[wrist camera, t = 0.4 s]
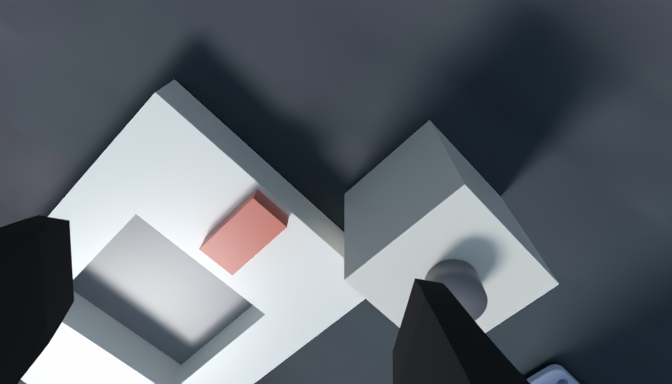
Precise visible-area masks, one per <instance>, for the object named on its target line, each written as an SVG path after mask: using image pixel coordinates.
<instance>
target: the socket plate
mask: <svg viewBox="0 0 672 384" xmlns="http://www.w3.org/2000/svg"><path fill="white" fill-rule="evenodd" d="M48 217H52V218H58V219H64V220H69V221H70V238H71V256H72V273H73V290H74V302H73V304H72V306H71V307H70V309H69V311H68V313H67V314H66V316H65V318H64V320H63V321H62V323H61V325H60V326H59V328H58V330H57V331H56V333H55V334H54V336H53V338H52V339H51V341H50V342H49V344H48V345H47V346H46V348H45V349H44V350H43V352H42V353H41V354H40V356H39V357H38V358H37V359H36V361H35V362H34V363H33V364H32V366H31V367H30V368H29V369H28V371H27V372H26V373H25V374H24V376H23V377H22V378H21V380H22V381H24V382H26V383H27V384H254V383H255V382H257V381H258V380H259V379H261V378H262V377H263V376H265V375H266V374H267V373H269V372H270V371H271V370H272V369H274V368H275V367H276V366H278V365H279V364H280V363H282V362H283V361H284V360H286V359H287V358H288V357H289V356H291V355H292V354H293V353H295V352H296V351H297V350H299V349H300V348H301V347H303V346H304V345H305V344H307V343H308V342H309V341H310V340H312V339H313V338H314V337H316V336H317V335H318V334H320V333H321V332H322V331H324V330H325V329H326V328H327V327H329V326H330V325H331V324H333V323H334V322H335V321H337V320H338V319H339V318H341V317H342V316H343V315H344V314H346V313H347V312H348V311H350V310H351V309H352V308H354V307H355V306H356V305H358V304H359V303H360V302H362V301H363V300H364V299H365V298H364V297H363V296H362V295H361V294H360V293H359V292H357V291H356V290H355V289H354V288H353V287H352V286H350V285H349V284H348V283H347V282H346V281H345V280H344V232H343V231H342V230H341V229H340V228H339V227H338V226H337V225H335V224H334V223H333V222H332V221H331V220H330V219H329V218H328V217H327V216H325V215H324V214H323V213H322V212H321V211H320V210H319V209H318V208H317V207H315V206H314V205H313V204H312V203H311V202H310V201H309V200H308V199H307V198H305V197H304V196H303V195H302V194H301V193H300V192H299V191H298V190H297V189H296V188H294V187H293V186H292V185H291V184H290V183H289V182H288V181H287V180H286V179H284V178H283V177H282V176H281V175H280V174H279V173H278V172H277V171H276V170H274V169H273V168H272V167H271V166H270V165H269V164H268V163H267V162H266V161H264V160H263V159H262V158H261V157H260V156H259V155H258V154H257V153H256V152H255V151H253V150H252V149H251V148H250V147H249V146H248V145H247V144H246V143H245V142H243V141H242V140H241V139H240V138H239V137H238V136H237V135H236V134H235V133H233V132H232V131H231V130H230V129H229V128H228V127H227V126H226V125H225V124H223V123H222V122H221V121H220V120H219V119H218V118H217V117H216V116H215V115H214V114H212V113H211V112H210V111H209V110H208V109H207V108H206V107H205V106H204V105H202V104H201V103H200V102H199V101H198V100H197V99H196V98H195V97H194V96H192V95H191V94H190V93H189V92H188V91H187V90H186V89H185V88H184V87H182V86H181V85H180V84H179V83H178V82H177V81H176V80H175V79H174V80H173V81H171V82H170V83H168V84H167V85H165V86H164V87H162V88H161V89H159V90H158V91H156V92H155V93H154V94H153V95H152V96H151V98H150V99H149V100H148V101H147V102H146V103H145V105H144V106H143V107H142V108H141V109H140V110H139V112H138V113H137V114H136V115H135V116H134V117H133V118H132V120H131V121H130V122H129V123H128V124H127V125H126V127H125V128H124V129H123V130H122V131H121V132H120V134H119V135H118V136H117V137H116V138H115V139H114V140H113V142H112V143H111V144H110V145H109V146H108V147H107V149H106V150H105V151H104V152H103V153H102V154H101V155H100V157H99V158H98V159H97V160H96V161H95V162H94V164H93V165H92V166H91V167H90V168H89V169H88V171H87V172H86V173H85V174H84V175H83V176H82V177H81V179H80V180H79V181H78V182H77V183H76V184H75V186H74V187H73V188H72V189H71V190H70V191H69V193H68V194H67V195H66V196H65V197H64V198H63V199H62V201H61V202H60V203H59V204H58V205H57V206H56V208H55V209H54V210H53V211H52V212H51V213H50V215H49V216H48Z"/></svg>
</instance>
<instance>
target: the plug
mask: <svg viewBox="0 0 672 384" xmlns="http://www.w3.org/2000/svg"><path fill="white" fill-rule="evenodd" d="M415 278H416V279H422V280H428V281H434V282H440V283H444V285H445V286H446V287H447V288H448V289H449V290H450V291H451V293H452V294H453V295H454V296H455V297H456V299H457V300H458V301H459V302H460V303H461V305H462V306H463V307H464V308H465V310H466V311H467V312H468V313H469V314H470V316H471V317H472V318H473V319H474V321H475V322H476V323H477V324H478V325H479V327H480V328H481V329H482V330H483V331H484V333H486V332H488V331H489V330H491V329H492V328H494V327H495V326H497V325H498V324H500V323H501V322H503V321H504V320H506V319H507V318H509V317H510V316H512V315H513V314H515V313H516V312H518V311H519V310H521V309H522V308H524V307H525V306H527V305H528V304H530V303H531V302H533V301H534V300H536V299H537V298H539V297H540V296H542V295H543V294H545V293H547V292H548V291H550V290H551V289H553V288H554V287H556V286H557V285H559V283H558V282H557V280H556V279H555V277H554V276H553V274H552V273H551V271H550V270H549V268H548V267H547V265H546V264H545V262H544V261H543V259H542V258H541V256H540V255H539V253H538V252H537V250H536V249H535V247H534V246H533V244H532V243H531V241H530V240H529V238H528V237H527V235H526V234H525V232H524V231H523V229H522V228H521V226H520V225H519V223H518V222H517V220H516V219H515V218H514V216H513V215H512V213H511V212H510V210H509V209H508V207H507V206H506V204H505V203H504V201H503V200H502V198H501V197H500V196H499V194H498V193H497V192H496V191H495V190H494V189H493V188H492V187H491V186H490V185H489V184H488V183H487V181H486V180H485V179H484V178H483V177H482V176H481V175H480V174H479V173H478V172H477V171H476V170H475V168H474V167H473V166H472V165H471V164H470V163H469V162H468V161H467V160H466V159H465V158H464V157H463V156H462V154H461V153H460V152H459V151H458V150H457V149H456V148H455V147H454V146H453V145H452V144H451V143H450V141H449V140H448V139H447V138H446V137H445V136H444V135H443V134H442V133H441V132H440V131H439V130H438V128H437V127H436V126H435V125H434V124H433V123H432V122H431V121H430V120H429V121H428V122H427V123H425V124H424V125H423V126H422V127H421V128H420V129H418V130H417V131H416V132H415V133H414V134H413V135H412V136H410V137H409V138H408V139H407V140H406V141H405V142H404V143H402V144H401V145H400V146H399V147H398V148H397V149H396V150H394V151H393V152H392V153H391V154H390V155H389V156H387V157H386V158H385V159H384V160H383V161H382V162H381V163H379V164H378V165H377V166H376V167H375V168H374V169H373V170H371V171H370V172H369V173H368V174H367V175H366V176H364V177H363V178H362V179H361V180H360V181H359V182H358V183H356V184H355V185H354V186H353V187H352V188H351V189H350V190H348V191H347V192H346V193H345V194H344V280H345V281H346V282H347V283H348V284H349V285H350V286H352V287H353V288H354V289H355V290H356V291H357V292H359V293H360V294H361V295H362V296H363V297H364V298H366V299H367V300H368V301H369V302H370V303H371V304H373V305H374V306H375V307H376V308H377V309H378V310H380V311H381V312H382V313H383V314H384V315H385V316H386V317H388V318H389V319H390V320H391V321H392V322H393V323H395V324H396V325H397V326H398V327H399V328H400V326H401V323H402V319H403V316H404V313H405V310H406V306H407V303H408V300H409V296H410V293H411V290H412V287H413V283H414V280H415Z"/></svg>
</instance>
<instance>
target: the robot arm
mask: <svg viewBox="0 0 672 384" xmlns="http://www.w3.org/2000/svg"><path fill="white" fill-rule="evenodd" d="M73 302H74V290H73V273H72V256H71V238H70V221H69V220H64V219H58V218H52V217H46V216H40V215H39V216H35V217H31V218H28V219H24V220H21V221H18V222H15V223H12V224H9V225H6V226H3V227H1V228H0V384H17V383H18V382H19V381H20V380H21V378H22V377H23V376H24V374H25V373H26V372H27V371H28V369H29V368H30V367H31V366H32V364H33V363H34V362H35V361H36V359H37V358H38V357H39V356H40V354H41V353H42V352H43V350H44V349H45V348H46V346H47V345H48V344H49V342H50V341H51V339H52V338H53V336H54V334H55V333H56V331H57V330H58V328H59V326H60V325H61V323H62V321H63V320H64V318H65V316H66V314H67V313H68V311H69V309H70V307H71V306H72V304H73ZM561 379H562V380H561ZM559 380H560V381H559ZM393 384H580V383H579V382H578V381H577V380H576V379H575V378H573V377H572V376H571V375H570V374H569V373H568V372H567V371H566V370H565V369H564V368H563V367H562V366H560V365H557V364H553V365H549V366H547V367H546V368H544V369H542V370H541V371H539V372H537V373H536V374H534V375H532V376H531V377H529V378H527V379H526V378H525V377H524V376H523V375H522V374H521V373H520V372H519V371H518V370H517V369H516V368H515V367H514V366H513V365H512V363H511V362H510V361H509V360H508V359H507V358H506V357H505V356H504V355H503V353H502V352H501V351H500V350H499V349H498V348H497V347H496V345H495V344H494V343H493V342H492V341H491V340H490V338H489V337H488V336H487V335H486V334H485V333H484V331H483V330H482V329H481V328H480V327H479V325H478V324H477V323H476V322H475V321H474V319H473V318H472V317H471V316H470V314H469V313H468V312H467V311H466V310H465V308H464V307H463V306H462V305H461V303H460V302H459V301H458V300H457V299H456V297H455V296H454V295H453V294H452V293H451V291H450V290H449V289H448V288H447V287H446V286H445V285H444V283H440V282H434V281H428V280H422V279H416V278H415V280H414V283H413V287H412V290H411V293H410V296H409V300H408V303H407V306H406V310H405V313H404V316H403V319H402V323H401V326H400V329H399V333H398V336H397V339H396V342H395V346H394V349H393Z"/></svg>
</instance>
